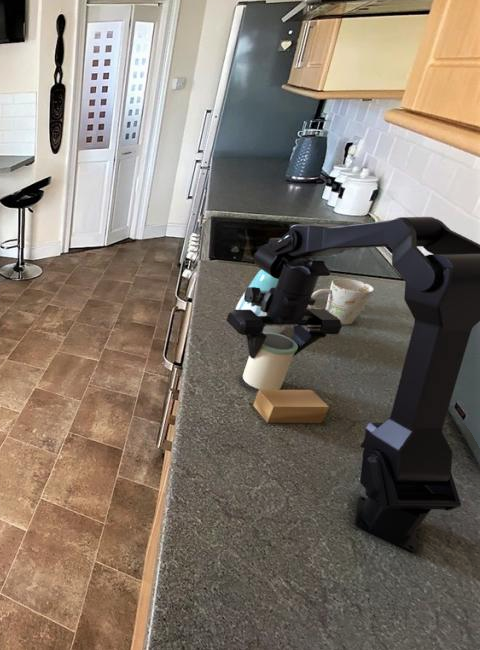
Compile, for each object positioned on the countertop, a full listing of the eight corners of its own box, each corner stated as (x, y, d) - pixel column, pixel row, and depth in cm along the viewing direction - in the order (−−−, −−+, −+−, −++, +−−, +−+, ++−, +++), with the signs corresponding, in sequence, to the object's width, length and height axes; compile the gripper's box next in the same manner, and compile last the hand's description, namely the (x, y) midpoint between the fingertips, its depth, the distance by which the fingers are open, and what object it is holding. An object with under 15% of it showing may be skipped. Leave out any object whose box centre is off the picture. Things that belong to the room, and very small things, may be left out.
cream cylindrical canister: (314, 387, 82) (300, 325, 85) (274, 387, 82) (262, 326, 85) (274, 393, 93) (263, 339, 97) (239, 393, 94) (229, 339, 97)
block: (321, 423, 82) (329, 406, 80) (267, 422, 82) (273, 406, 80) (304, 405, 86) (311, 389, 84) (253, 405, 87) (258, 389, 85)
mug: (365, 328, 110) (381, 293, 106) (310, 324, 113) (323, 290, 108) (347, 312, 118) (361, 279, 113) (295, 309, 120) (307, 276, 115)
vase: (256, 317, 117) (276, 255, 109) (294, 338, 107) (320, 272, 99) (220, 323, 115) (237, 261, 106) (256, 346, 105) (279, 279, 96)
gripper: (317, 271, 88) (292, 336, 95) (223, 272, 89) (206, 336, 96) (358, 295, 78) (327, 365, 86) (252, 296, 79) (230, 366, 87)
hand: (270, 357), depth 89 cm, fingers closed on cream cylindrical canister, 7 cm apart
